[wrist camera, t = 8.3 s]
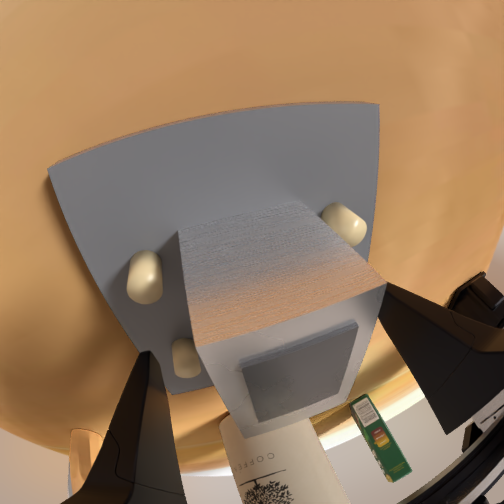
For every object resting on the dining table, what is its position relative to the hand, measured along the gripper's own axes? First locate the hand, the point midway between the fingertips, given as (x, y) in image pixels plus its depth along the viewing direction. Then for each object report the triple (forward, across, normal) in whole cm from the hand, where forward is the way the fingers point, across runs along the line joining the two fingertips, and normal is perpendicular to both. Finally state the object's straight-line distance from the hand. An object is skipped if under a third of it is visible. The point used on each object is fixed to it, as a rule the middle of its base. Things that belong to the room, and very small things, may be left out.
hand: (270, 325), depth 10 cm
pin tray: (+3, 0, 0) cm, 3 cm away
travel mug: (+3, +1, +17) cm, 17 cm away
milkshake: (+3, +18, +15) cm, 24 cm away
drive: (+2, 0, 0) cm, 2 cm away
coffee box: (+4, -12, +28) cm, 31 cm away
